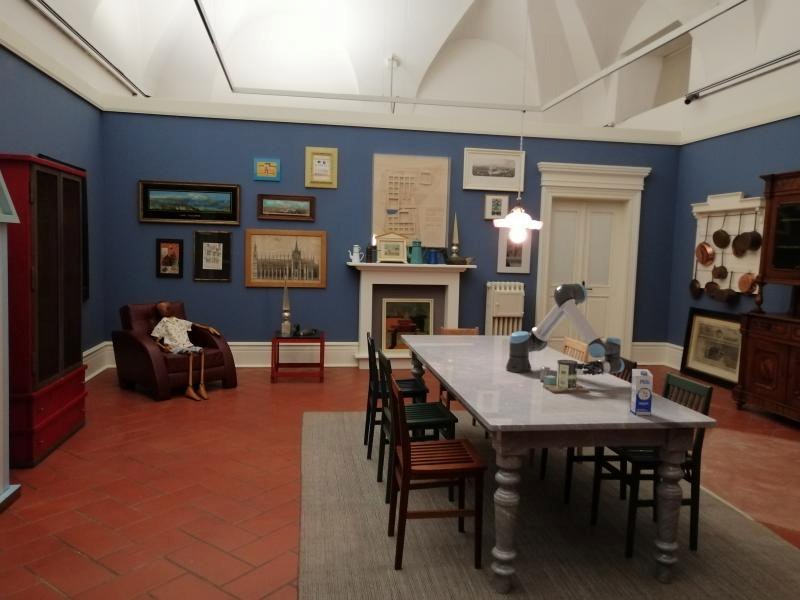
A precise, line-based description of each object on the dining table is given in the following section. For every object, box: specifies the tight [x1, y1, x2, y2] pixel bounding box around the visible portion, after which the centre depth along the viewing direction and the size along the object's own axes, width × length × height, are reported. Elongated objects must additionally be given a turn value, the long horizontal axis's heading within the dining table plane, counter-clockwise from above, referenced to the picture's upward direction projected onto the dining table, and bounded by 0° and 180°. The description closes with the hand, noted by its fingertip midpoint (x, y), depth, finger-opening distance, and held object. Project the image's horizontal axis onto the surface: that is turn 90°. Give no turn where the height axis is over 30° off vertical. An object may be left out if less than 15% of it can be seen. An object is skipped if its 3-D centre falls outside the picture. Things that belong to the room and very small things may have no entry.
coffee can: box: [556, 359, 579, 390], centre depth 303 cm, size 10×10×14 cm
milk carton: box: [629, 368, 654, 417], centre depth 260 cm, size 7×7×20 cm
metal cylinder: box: [539, 366, 551, 384], centre depth 322 cm, size 5×5×8 cm
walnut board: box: [542, 383, 590, 394], centre depth 303 cm, size 13×20×1 cm, turn 101°
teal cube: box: [542, 374, 557, 386], centre depth 313 cm, size 5×5×5 cm
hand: (568, 370), depth 303 cm, fingers open, 13 cm apart
